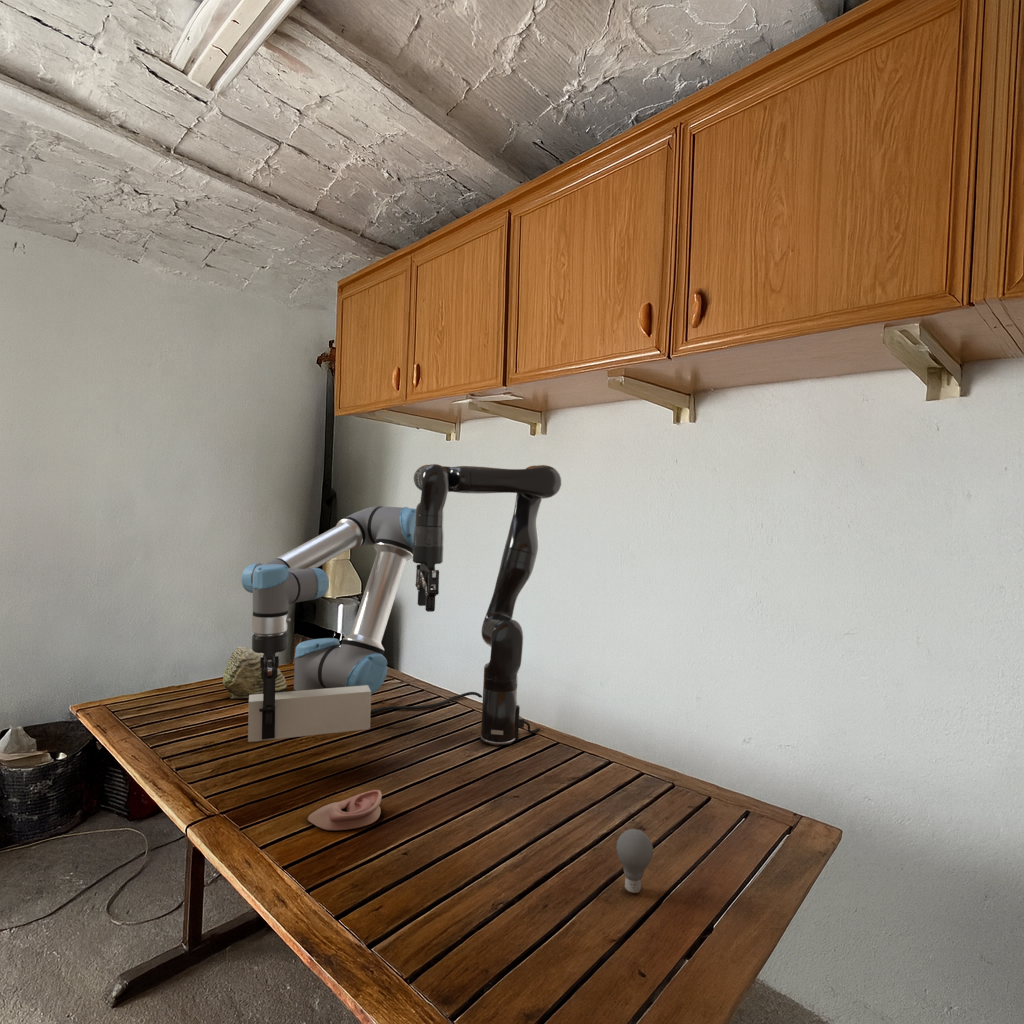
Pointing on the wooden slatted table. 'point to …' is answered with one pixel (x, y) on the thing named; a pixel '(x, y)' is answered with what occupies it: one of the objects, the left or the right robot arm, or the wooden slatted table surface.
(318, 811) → the anatomical model
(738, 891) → the wooden slatted table surface
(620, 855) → the light bulb
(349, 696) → the bar
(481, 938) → the wooden slatted table surface
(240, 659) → the fossil
